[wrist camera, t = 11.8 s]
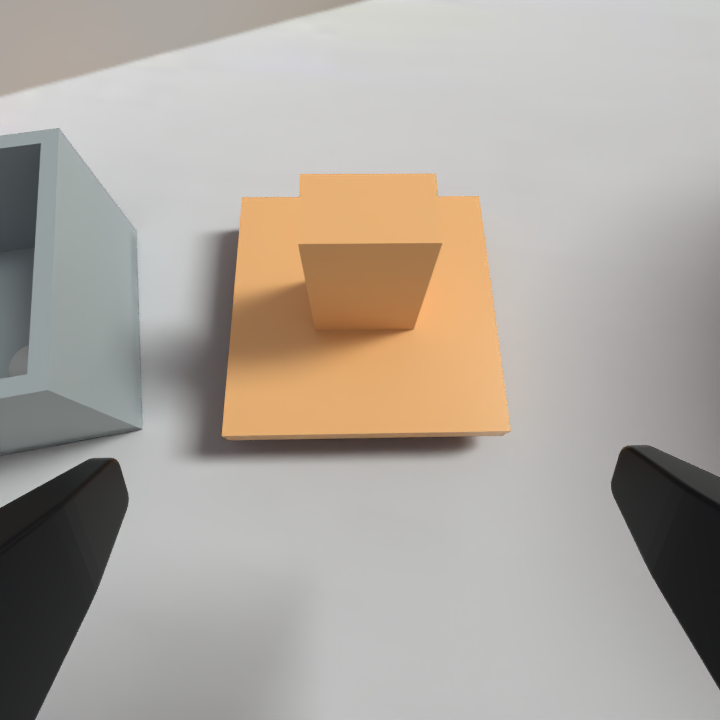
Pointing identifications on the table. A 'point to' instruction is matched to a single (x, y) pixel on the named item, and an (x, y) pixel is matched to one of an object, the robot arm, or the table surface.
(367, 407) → the lid
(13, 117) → the table surface
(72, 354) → the tub
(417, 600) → the table surface
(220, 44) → the table surface
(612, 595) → the table surface
